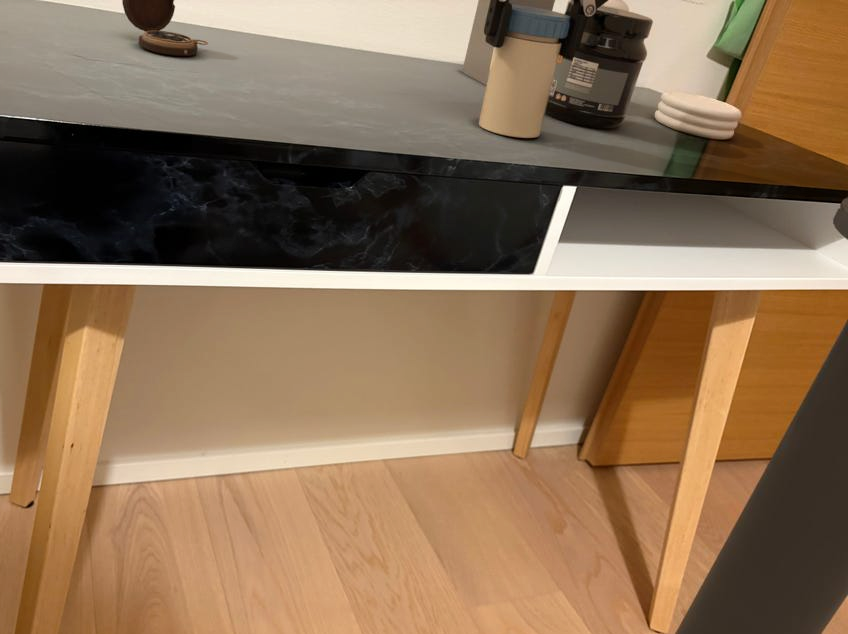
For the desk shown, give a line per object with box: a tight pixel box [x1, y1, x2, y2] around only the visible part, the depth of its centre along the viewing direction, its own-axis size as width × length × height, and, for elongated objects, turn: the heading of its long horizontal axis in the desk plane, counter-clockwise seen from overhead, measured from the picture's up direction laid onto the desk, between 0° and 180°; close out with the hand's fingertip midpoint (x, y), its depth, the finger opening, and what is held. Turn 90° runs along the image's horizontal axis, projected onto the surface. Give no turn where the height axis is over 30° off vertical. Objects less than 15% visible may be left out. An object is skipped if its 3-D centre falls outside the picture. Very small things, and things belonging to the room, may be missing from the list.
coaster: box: [654, 90, 742, 141], centre depth 102 cm, size 10×10×4 cm
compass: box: [121, 0, 209, 57], centre depth 85 cm, size 8×8×7 cm
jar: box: [478, 30, 562, 139], centre depth 80 cm, size 6×6×11 cm
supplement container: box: [545, 2, 654, 130], centre depth 93 cm, size 10×10×12 cm
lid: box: [507, 5, 571, 39], centre depth 78 cm, size 7×7×2 cm
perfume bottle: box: [461, 0, 556, 86], centre depth 102 cm, size 7×7×18 cm
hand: (529, 49), depth 78 cm, fingers closed on lid, 6 cm apart
